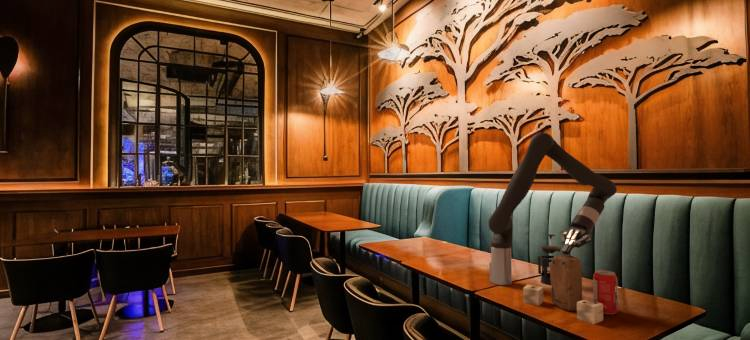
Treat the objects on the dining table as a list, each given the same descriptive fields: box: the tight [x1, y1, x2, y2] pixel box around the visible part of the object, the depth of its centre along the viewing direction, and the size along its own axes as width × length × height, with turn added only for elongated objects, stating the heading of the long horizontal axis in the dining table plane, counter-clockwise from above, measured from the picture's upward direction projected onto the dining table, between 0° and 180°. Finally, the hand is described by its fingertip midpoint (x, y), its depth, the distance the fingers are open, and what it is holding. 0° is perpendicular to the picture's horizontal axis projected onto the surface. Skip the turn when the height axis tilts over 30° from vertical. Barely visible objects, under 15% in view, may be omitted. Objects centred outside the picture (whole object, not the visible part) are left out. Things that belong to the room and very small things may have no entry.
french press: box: [537, 233, 562, 286], centre depth 177 cm, size 12×9×23 cm
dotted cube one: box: [522, 284, 544, 306], centre depth 150 cm, size 6×6×6 cm
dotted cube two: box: [576, 298, 604, 325], centre depth 132 cm, size 6×6×6 cm
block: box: [549, 254, 583, 312], centre depth 144 cm, size 11×8×20 cm
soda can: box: [592, 269, 619, 316], centre depth 139 cm, size 8×8×15 cm
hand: (564, 253), depth 144 cm, fingers closed
